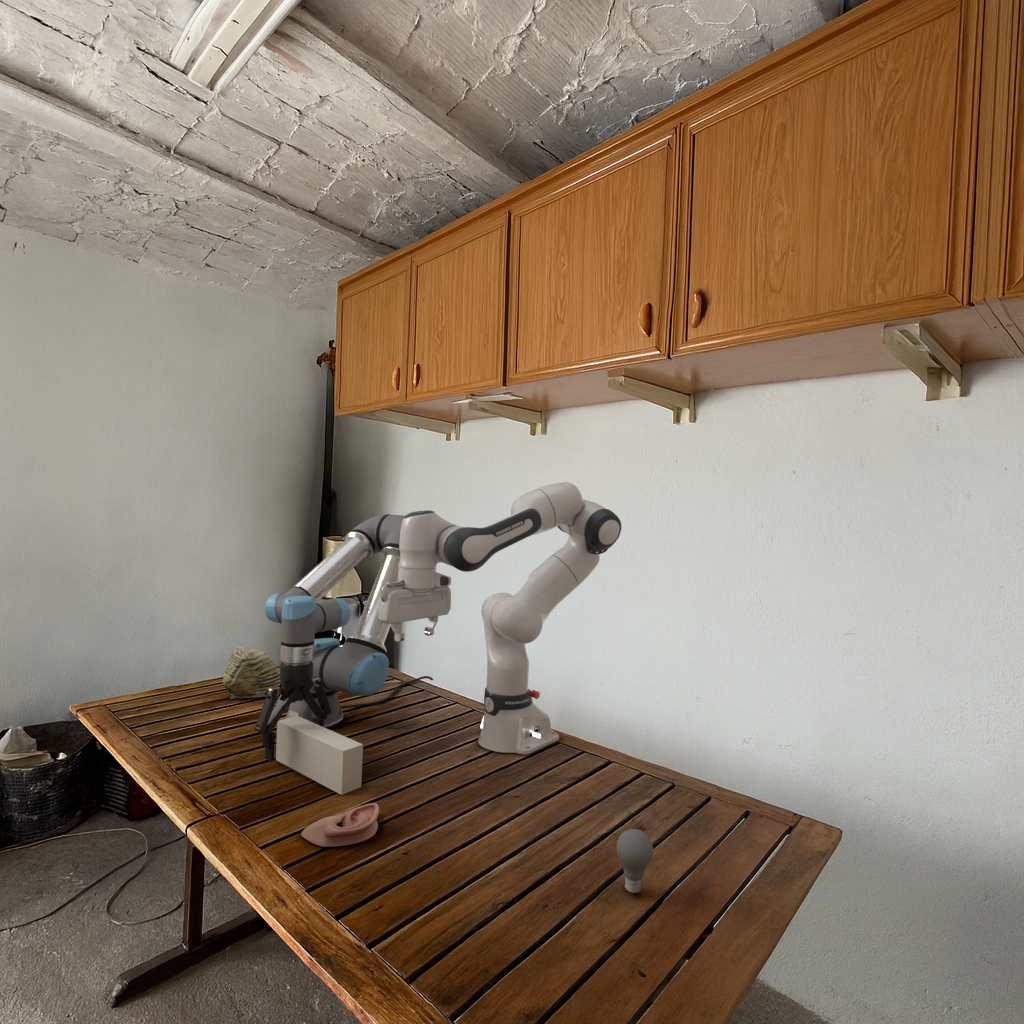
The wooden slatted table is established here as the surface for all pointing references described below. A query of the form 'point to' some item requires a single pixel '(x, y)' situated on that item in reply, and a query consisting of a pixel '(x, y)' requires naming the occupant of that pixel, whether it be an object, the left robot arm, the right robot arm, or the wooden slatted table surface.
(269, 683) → the fossil
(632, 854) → the light bulb
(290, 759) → the bar
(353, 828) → the anatomical model
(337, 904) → the wooden slatted table surface
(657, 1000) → the wooden slatted table surface
